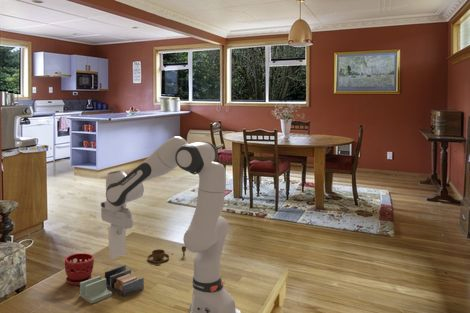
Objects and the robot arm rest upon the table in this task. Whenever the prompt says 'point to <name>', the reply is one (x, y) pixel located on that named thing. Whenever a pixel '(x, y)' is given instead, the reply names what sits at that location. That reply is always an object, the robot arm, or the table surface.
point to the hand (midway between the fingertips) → (117, 233)
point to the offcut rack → (126, 288)
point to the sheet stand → (94, 289)
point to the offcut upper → (126, 279)
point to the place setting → (162, 255)
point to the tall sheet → (116, 242)
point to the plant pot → (79, 268)
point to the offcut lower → (118, 286)
